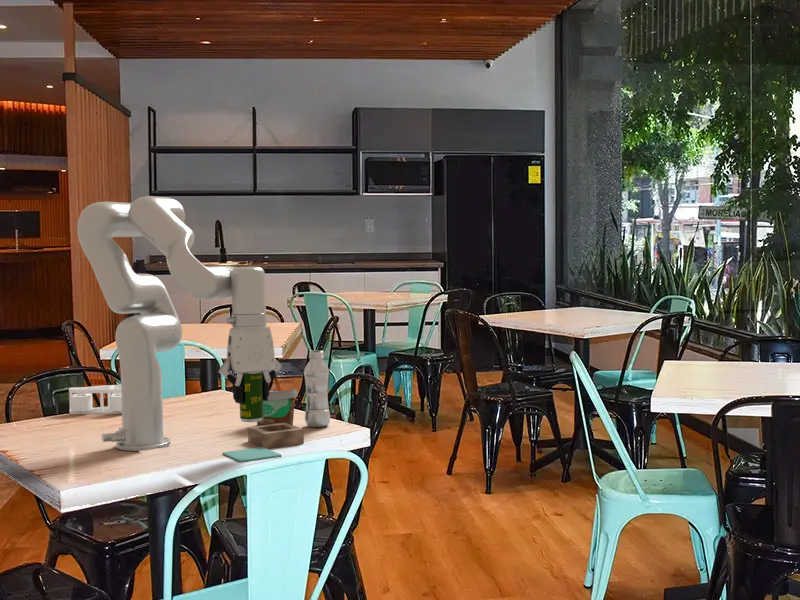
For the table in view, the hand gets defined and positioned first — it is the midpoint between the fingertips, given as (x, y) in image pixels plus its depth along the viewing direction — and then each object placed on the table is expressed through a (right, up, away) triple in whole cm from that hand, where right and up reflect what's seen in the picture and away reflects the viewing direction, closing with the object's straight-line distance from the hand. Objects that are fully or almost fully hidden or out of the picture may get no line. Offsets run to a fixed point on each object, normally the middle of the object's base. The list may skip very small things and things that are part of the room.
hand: (251, 400), depth 217 cm
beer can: (0, -5, 0) cm, 5 cm away
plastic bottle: (+12, -11, +33) cm, 37 cm away
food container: (0, -11, +33) cm, 34 cm away
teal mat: (0, -12, +1) cm, 13 cm away
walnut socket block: (+4, -12, +14) cm, 19 cm away
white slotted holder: (-51, -10, +58) cm, 77 cm away
